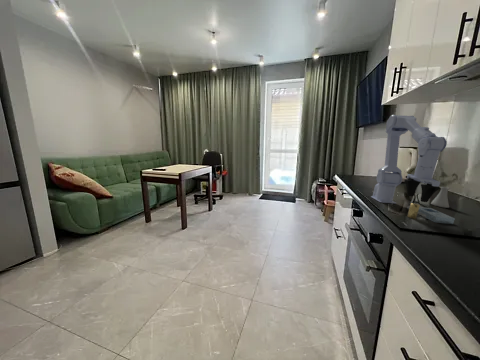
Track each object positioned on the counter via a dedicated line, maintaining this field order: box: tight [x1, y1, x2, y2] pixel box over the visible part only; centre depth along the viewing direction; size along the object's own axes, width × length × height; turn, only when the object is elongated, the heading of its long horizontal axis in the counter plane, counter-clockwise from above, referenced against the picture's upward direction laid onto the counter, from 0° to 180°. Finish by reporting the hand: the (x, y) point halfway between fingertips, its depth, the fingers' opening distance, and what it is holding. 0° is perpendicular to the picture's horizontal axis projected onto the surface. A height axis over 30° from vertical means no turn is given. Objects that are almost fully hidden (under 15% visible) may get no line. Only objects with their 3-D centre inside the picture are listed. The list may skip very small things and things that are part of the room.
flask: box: [430, 186, 450, 209], centre depth 104 cm, size 7×7×10 cm
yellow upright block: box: [407, 202, 421, 220], centre depth 85 cm, size 3×3×6 cm
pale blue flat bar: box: [406, 205, 456, 225], centre depth 89 cm, size 16×7×2 cm, turn 174°
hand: (416, 198), depth 84 cm, fingers open, 7 cm apart
